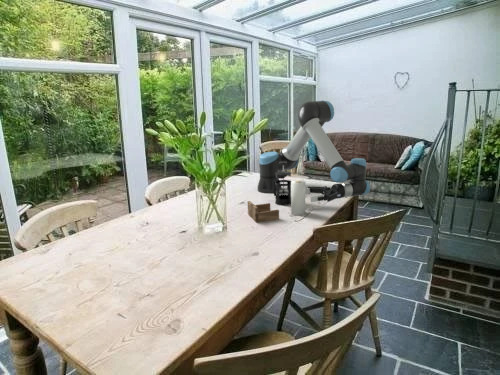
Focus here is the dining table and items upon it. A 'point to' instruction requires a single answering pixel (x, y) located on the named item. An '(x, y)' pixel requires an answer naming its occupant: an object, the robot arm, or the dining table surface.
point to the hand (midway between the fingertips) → (304, 195)
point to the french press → (283, 195)
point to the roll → (298, 197)
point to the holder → (262, 212)
